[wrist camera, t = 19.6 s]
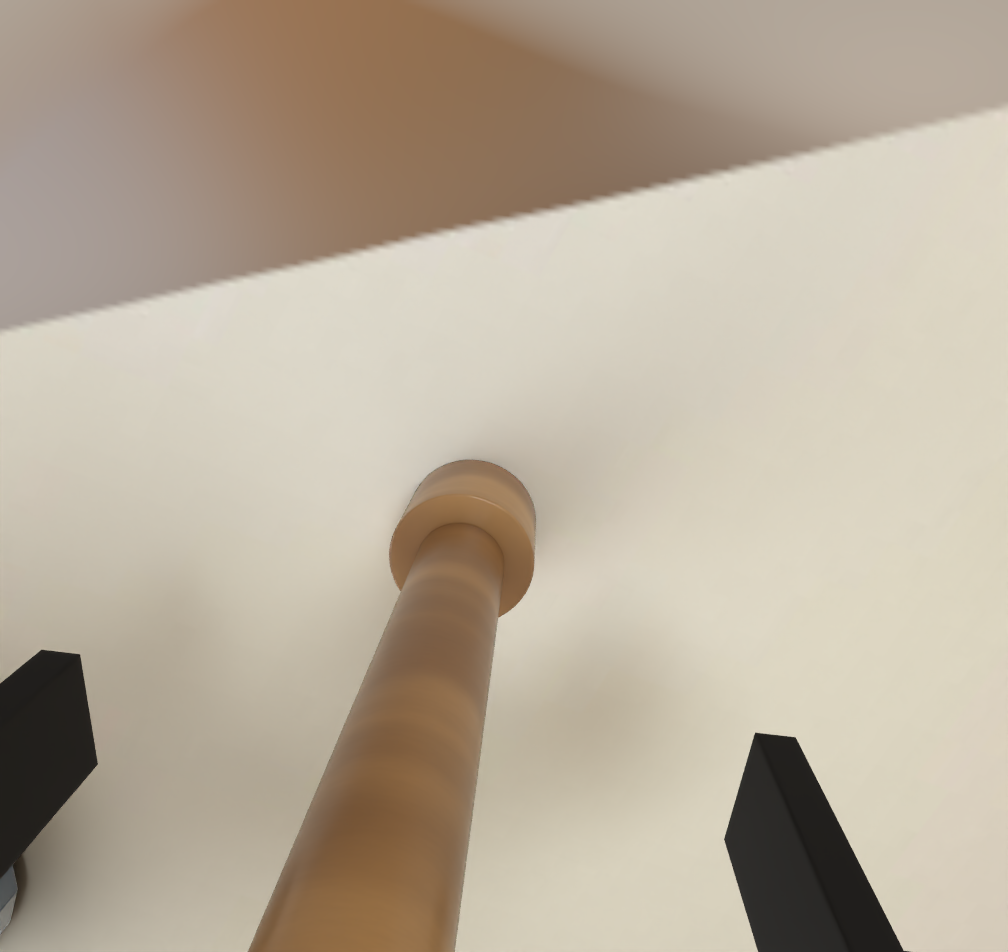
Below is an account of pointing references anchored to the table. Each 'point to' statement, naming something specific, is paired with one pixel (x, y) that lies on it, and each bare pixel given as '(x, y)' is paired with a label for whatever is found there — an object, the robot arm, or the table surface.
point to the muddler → (411, 733)
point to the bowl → (7, 897)
